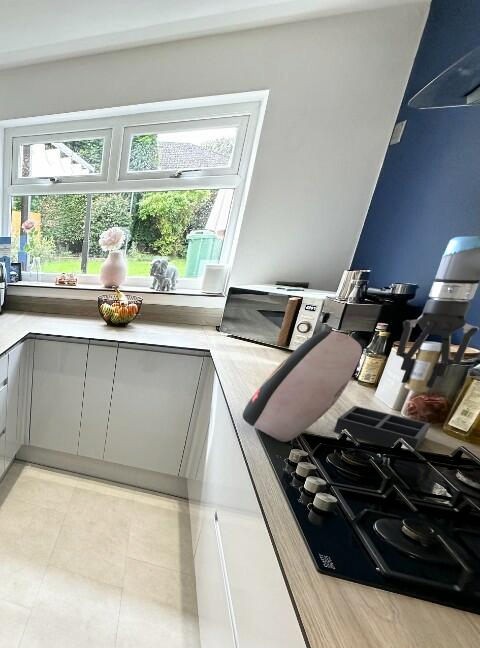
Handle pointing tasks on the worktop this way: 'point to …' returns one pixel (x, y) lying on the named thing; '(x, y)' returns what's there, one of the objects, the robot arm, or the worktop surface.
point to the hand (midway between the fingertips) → (417, 384)
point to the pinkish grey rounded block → (304, 385)
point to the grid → (381, 427)
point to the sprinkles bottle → (424, 366)
